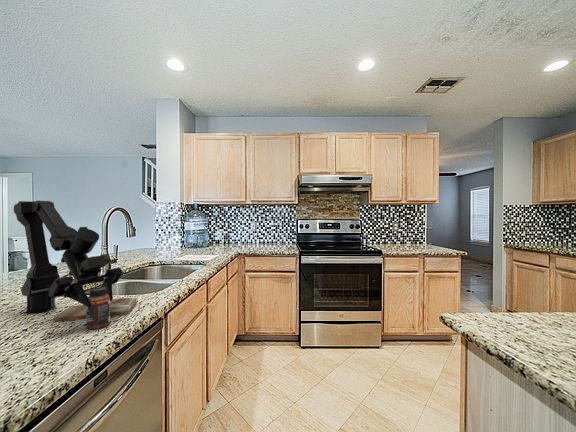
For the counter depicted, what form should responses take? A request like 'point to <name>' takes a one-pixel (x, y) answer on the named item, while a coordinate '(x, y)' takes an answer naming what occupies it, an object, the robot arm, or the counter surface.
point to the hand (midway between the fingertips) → (101, 303)
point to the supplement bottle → (98, 309)
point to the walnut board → (116, 309)
